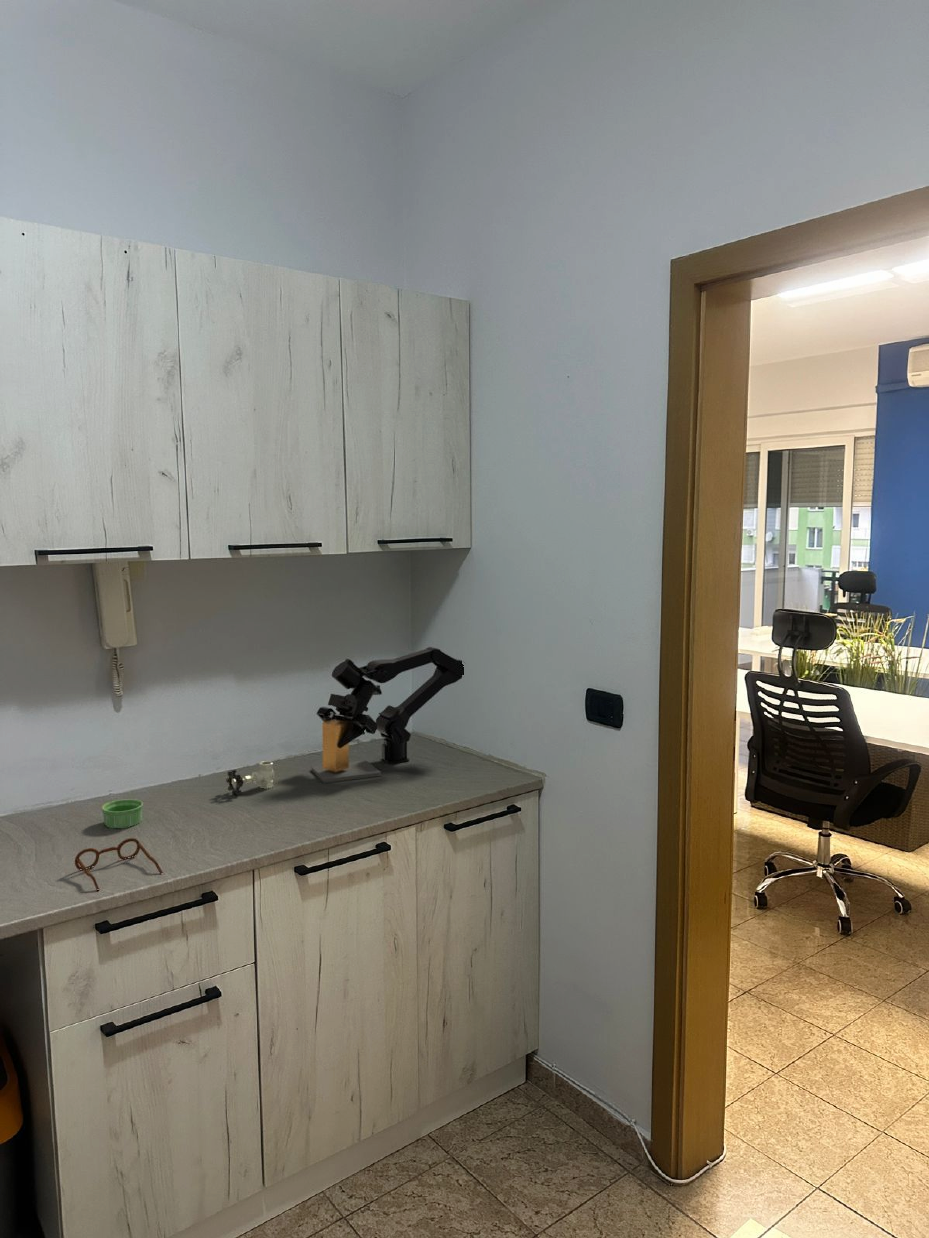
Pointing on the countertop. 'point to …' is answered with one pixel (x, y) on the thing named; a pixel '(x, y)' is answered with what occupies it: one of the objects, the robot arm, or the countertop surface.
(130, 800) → the ramekin
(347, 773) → the rubber mat
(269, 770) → the valve
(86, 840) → the countertop surface
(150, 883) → the countertop surface
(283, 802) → the countertop surface
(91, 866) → the glasses
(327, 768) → the wooden block
